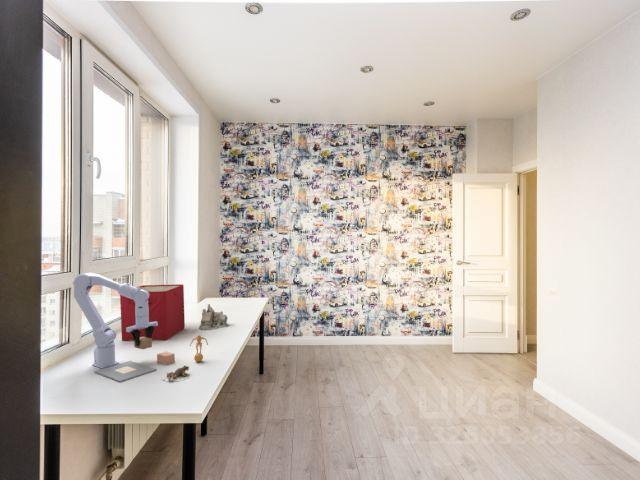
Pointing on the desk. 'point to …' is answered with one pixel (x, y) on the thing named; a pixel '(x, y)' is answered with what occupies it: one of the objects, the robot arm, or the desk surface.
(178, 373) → the frog figurine
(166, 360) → the terracotta block
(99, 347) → the robot arm
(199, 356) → the figurine
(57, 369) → the desk surface
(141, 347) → the walnut block
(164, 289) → the storage cube
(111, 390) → the desk surface
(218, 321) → the stone castle ruin
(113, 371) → the board
